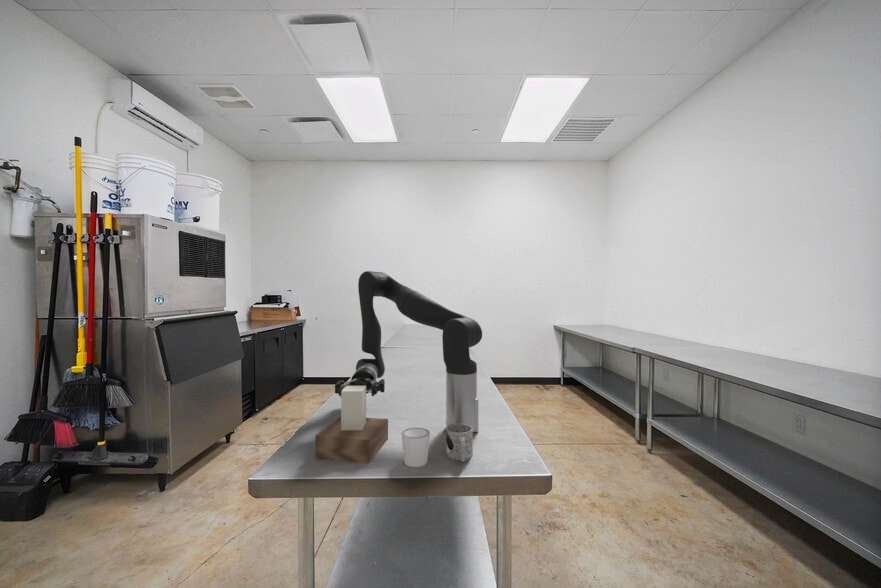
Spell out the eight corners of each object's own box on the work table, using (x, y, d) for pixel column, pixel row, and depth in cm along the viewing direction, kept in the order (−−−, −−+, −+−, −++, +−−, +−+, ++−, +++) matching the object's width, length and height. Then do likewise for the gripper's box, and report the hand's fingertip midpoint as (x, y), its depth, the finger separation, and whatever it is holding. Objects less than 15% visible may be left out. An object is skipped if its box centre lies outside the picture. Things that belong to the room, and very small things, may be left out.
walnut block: (388, 440, 96) (388, 419, 96) (369, 464, 82) (369, 439, 82) (341, 437, 98) (341, 416, 98) (315, 460, 85) (315, 435, 85)
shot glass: (395, 461, 83) (395, 432, 83) (416, 452, 88) (416, 424, 88) (415, 471, 78) (415, 440, 78) (435, 461, 83) (435, 432, 83)
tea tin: (366, 422, 94) (366, 385, 94) (362, 430, 88) (362, 391, 88) (346, 422, 93) (346, 385, 93) (341, 430, 88) (341, 391, 88)
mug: (445, 449, 90) (445, 423, 90) (470, 448, 90) (470, 422, 90) (448, 468, 80) (448, 439, 80) (477, 467, 80) (477, 438, 80)
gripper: (342, 367, 111) (331, 380, 95) (386, 367, 112) (383, 379, 96) (342, 391, 111) (331, 407, 95) (386, 390, 112) (383, 405, 96)
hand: (357, 393), depth 95 cm, fingers open, 8 cm apart
